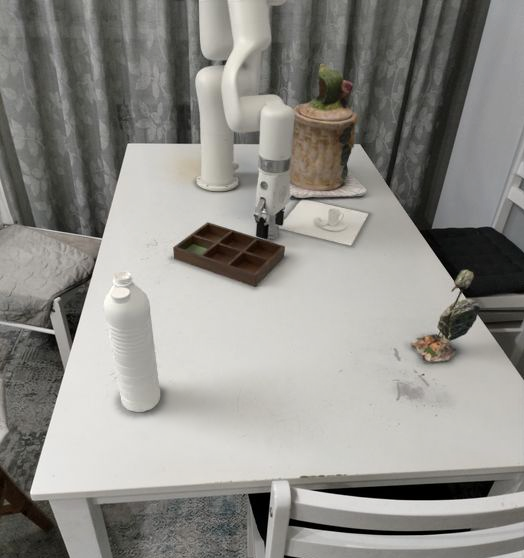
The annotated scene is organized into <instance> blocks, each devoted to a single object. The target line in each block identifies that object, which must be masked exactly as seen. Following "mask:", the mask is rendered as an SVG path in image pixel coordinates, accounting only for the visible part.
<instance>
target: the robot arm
mask: <svg viewBox="0 0 524 558" xmlns="http://www.w3.org/2000/svg"><path fill="white" fill-rule="evenodd" d="M287 1H288V0H198V20H199V22H198V23H199V24H198V25H199V26H198V27H199V44H200V51H201V53H202V55H203V57H204V58H205V59H207V60H209V61H226V62H225V64H222V65H218V64H217V65H209V66H205V67H203V68H201V69H200V70H199V71H198V72H197V74H196V76H195V80H194V82H195V91H196V98H197V104H198V111H199V130H200V132H199V133H200V134H199V135H200V161H201V162H200V164H201V165H200V167H201V172H200V174H199V175H198V176H197V177H196V184H197V186H198V187H200V188H202V189H203V190H206V191H211V192H228V191H231V190H234V189H236V188H237V187H238V185H239V179H238V177H237V176H236V175H235V173H234V172H235V170H237V169H238V168H239V167H240V164H239V162H238V161H234V159H235V158H234V154H235V153H234V152H235V151H234V150H235V145H234V144H235V133H237V134H246V133H254V132H259V143H258V144H259V145H258V163H257V164H258V165H257V169H258V171H259V172H258V177H257V183H256V184H257V185H256V193H255V210H254V211H253V217H254V220H255V224H256V225H255V226H256V227H255V237H257V238H260V239H263V240H266V241H268V240H269V239H268V232H269V224H268V220H269V217H270V215H271V216H274V215H276V218H275V225H277V226H282V225H283V221H284V220H285V219H284V218H285V209H286V207H287V205H288V204H289V202H290V198H289V195H290V163H291V152H292V141H293V130H294V119H295V114H294V110H293V108H292V107H291V106H289V105H287V104H286V103H285V102H284V100H283V99H282V98H281V96H279V95H278V94H274V93H273V94H271V93H269V94H260V87H261V71H262V70H261V68H262V52H263V51H264V50H266V49H268V48H269V46H270V45H271V43H272V31H271V25H270V15H269V9H268V8H269V6H273V7H274V6H282V5H284V4H285V3H286V2H287ZM265 209H266V210H267V212H265ZM262 215H264V217H263V216H262ZM265 215H266V217H265Z"/></svg>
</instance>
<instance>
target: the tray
mask: <svg viewBox="0 0 524 558" xmlns="http://www.w3.org/2000/svg"><path fill="white" fill-rule="evenodd" d="M172 251H173V260H176V261H178V262H183V263H185V264H188V265H190V266H194V267H197V268H199V269H201V270H206V271H207V272H211V273H214V274H217V275H220V276H222V277H226V278H228V279H231V280H233V281H237V282H240V283H243V284H245V285H248V286H251V287H254V288H257V286H258V285H259V284H260V283H261V282H262V281H263V280H264V279H265V278H266V276H268V275H269V274H270V273H271V271H273V270H274V269H275V268H276V267H277V266H278V264H279V263H280V262H281V261H283V259H284V258H285V253H286V246H285V245H283V244H279V243H275V242H273V241H269V240H266V239H262V238H259V237H257V236H253V235H250V234H247V233H243V232H241V231H237V230H234V229H231V228H227V227H226V226H225V227H224V226H221V225H219V224H215V223H212V222H208V221H207V222H205V223H204V224H203V225H202V226H200V227H199V228H197V229H196V230H195V231H193V232H192V233H191V234H189V235H188V236H186V237H185V238H184V239H182V240H181V241H179V242H178V243H177V244H176V245H174V246H173V247H172Z"/></svg>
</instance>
